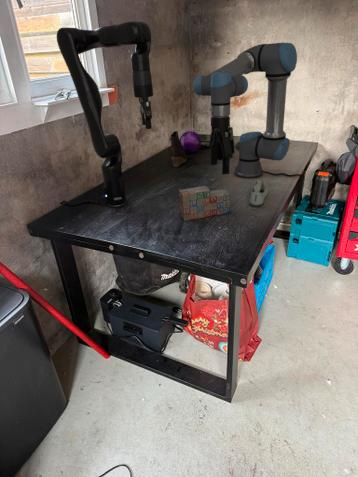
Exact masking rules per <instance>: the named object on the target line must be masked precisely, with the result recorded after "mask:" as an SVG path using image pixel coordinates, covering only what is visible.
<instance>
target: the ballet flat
mask: <svg viewBox="0 0 358 477" xmlns="http://www.w3.org/2000/svg"><path fill="white" fill-rule="evenodd" d="M268 194H269V189H268V186H267V183H266V182H265V181H264V180H262V179H257V180H255V181H254V182H253V184H252V187H251V190H250V196H249V204H250V205H251V206H252V207H260V206H261V205H263V203H264V201H265V198H266V196H267V195H268Z"/></svg>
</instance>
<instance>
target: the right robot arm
mask: <svg viewBox="0 0 358 477" xmlns="http://www.w3.org/2000/svg"><path fill="white" fill-rule="evenodd" d="M297 63H298V53H297V49H296V46H295V44H294V43H291V42H283V41H282V42H273V43H261V44H257V45H254V46H252V47H249V48H247V49H246V50H243V51H242V52H240V53H239V54H238V55H237V57H236V58H235V59H233V60H231V61H230V62H228V63H226V64H224V65H223V66H220V67H219V68H217V69H216V70H214V71H213V72H210V73H208V74H207V75H203V74H202V75H198V76H196V77H195V78H194V80H193V91H194V93H195V94H196V95H197V96H202V97H205V96H207V97H209V96H210V108H209V111H210V116H211V117H210V135H209V136H210V141H209V146H208V148H210V166H216V165H218V159H217V149H218V147H217V146H218V143H220V145H221V149H222V153H223V157H222V159H221V161H222V162H221V164H222V166H221V174H222V175H223V176H224V175H229V174H230V161H231V160H230V159H232V158H233V153H232V150H231V144H230V133H229V132H226V128H227V127H229V126H230V127H231V117H230V115H231V98H236V97H240V96H242V95H244V94H245V93H247V90H248V89H249V80H248V78H247V77H246V76H245V75H248V74H251V73H264V74H265V75H264V78H265V79H266V80H267V98H266V99H267V101H266V120H265V131H263V136H262V132H261V131H249V132H244V133H242V134H240V136H239V141H238V142H239V150H238V162H237V165H236V166H234V169H235V170H234V174H235V176H236V177H239V178H243V179H255V178H259V177H261V176H262V175H263V174H268V175H272V176H280V175H281V176H286V177H301V178H305V177H304V175H302V174H300V173H295V174H287V173H285V172H278V173H274V172H270V171H265V170H263V169H262V165H261V159H265V160H271V161H278V162H279V161H282V160H283V159H285V157H286V155H287V154H288V152H289V149H290V143H291V142H290V138H288V137H286V136H287V133H286V132H285V131H284V124H285V112H286V98H287V84H288V79H289V78H290V77H291V75H292V73H293V72H294V71H295V69H296V67H297Z"/></svg>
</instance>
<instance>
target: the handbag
mask: <svg viewBox="0 0 358 477" xmlns="http://www.w3.org/2000/svg"><path fill="white" fill-rule="evenodd" d="M233 128H234V127H232V126H231V125H230V126H229V127H227V128H226V132H229V133H230V144H231V150H232V154H233V153H235V141H234V140H235V139H234V137H235V135H234V129H233ZM217 147H218V149H217V160H222V157H223V153H222V149H221V145H220V143H218V146H217Z"/></svg>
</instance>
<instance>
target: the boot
mask: <svg viewBox="0 0 358 477" xmlns="http://www.w3.org/2000/svg"><path fill="white" fill-rule="evenodd" d="M169 141H170V151H169V154H170V156H169V158H170V160H171V164H172V166H173V168H178V167H180V165H182V164H184V163H185V162H187V161H188V156H187V153H186V152H184V151H183V150H182V148H181V144H180V137H179V131H177V130H175V131H173V132H172V133H171V134H170V138H169Z"/></svg>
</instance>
